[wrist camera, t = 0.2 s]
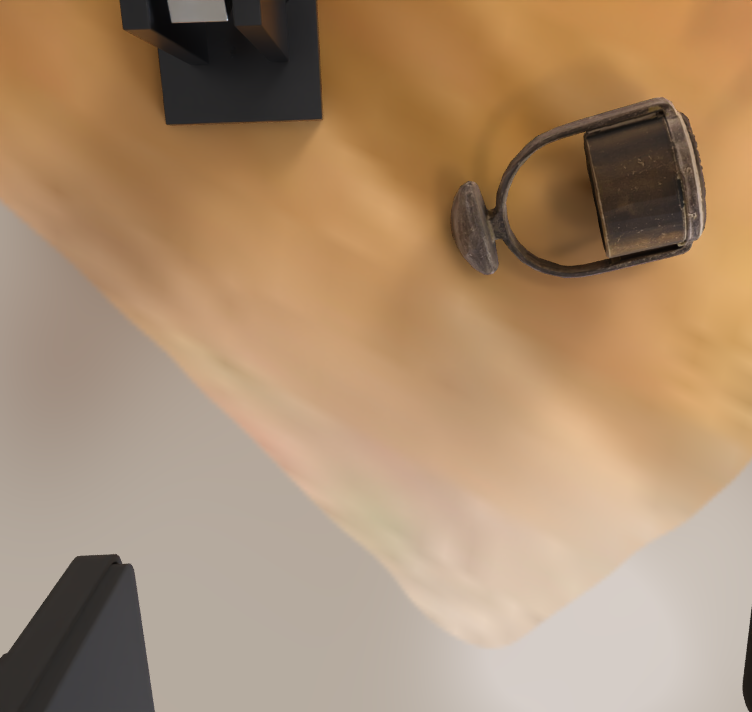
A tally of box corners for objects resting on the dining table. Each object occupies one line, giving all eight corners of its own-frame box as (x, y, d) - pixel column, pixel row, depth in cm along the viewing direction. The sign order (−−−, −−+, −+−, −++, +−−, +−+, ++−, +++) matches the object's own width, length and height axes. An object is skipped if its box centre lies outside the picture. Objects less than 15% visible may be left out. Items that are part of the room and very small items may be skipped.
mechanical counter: (716, 323, 36) (785, 116, 31) (466, 317, 34) (499, 97, 30) (653, 269, 42) (702, 90, 38) (439, 262, 41) (462, 73, 36)
